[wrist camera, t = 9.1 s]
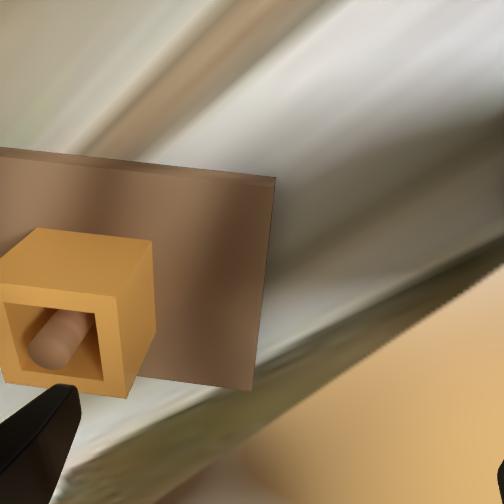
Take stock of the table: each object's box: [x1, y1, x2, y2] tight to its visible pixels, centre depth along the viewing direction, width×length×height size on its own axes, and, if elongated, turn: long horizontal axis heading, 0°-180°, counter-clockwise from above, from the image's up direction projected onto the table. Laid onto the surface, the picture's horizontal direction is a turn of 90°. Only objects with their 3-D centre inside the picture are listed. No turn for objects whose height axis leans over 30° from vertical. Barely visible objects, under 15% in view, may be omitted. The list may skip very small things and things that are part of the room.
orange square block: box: [0, 228, 156, 399], centre depth 19 cm, size 5×5×4 cm
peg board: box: [0, 147, 276, 391], centre depth 20 cm, size 16×12×6 cm
